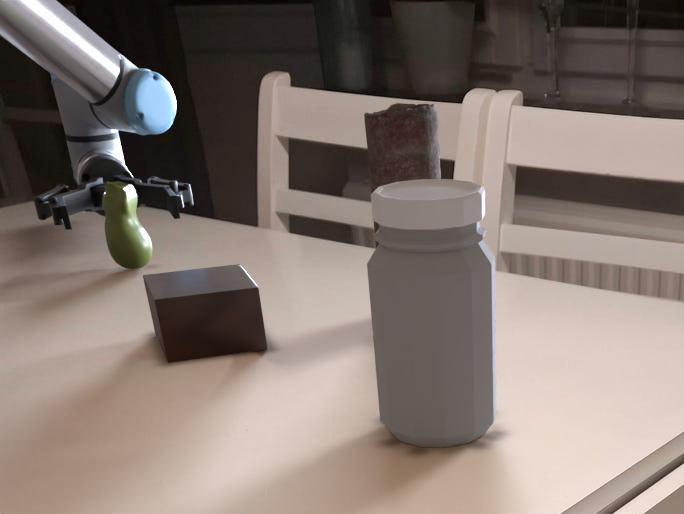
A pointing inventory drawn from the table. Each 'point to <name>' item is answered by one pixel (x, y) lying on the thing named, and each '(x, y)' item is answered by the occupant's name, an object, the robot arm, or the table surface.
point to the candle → (402, 145)
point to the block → (205, 312)
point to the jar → (433, 312)
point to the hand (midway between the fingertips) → (121, 212)
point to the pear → (125, 227)
